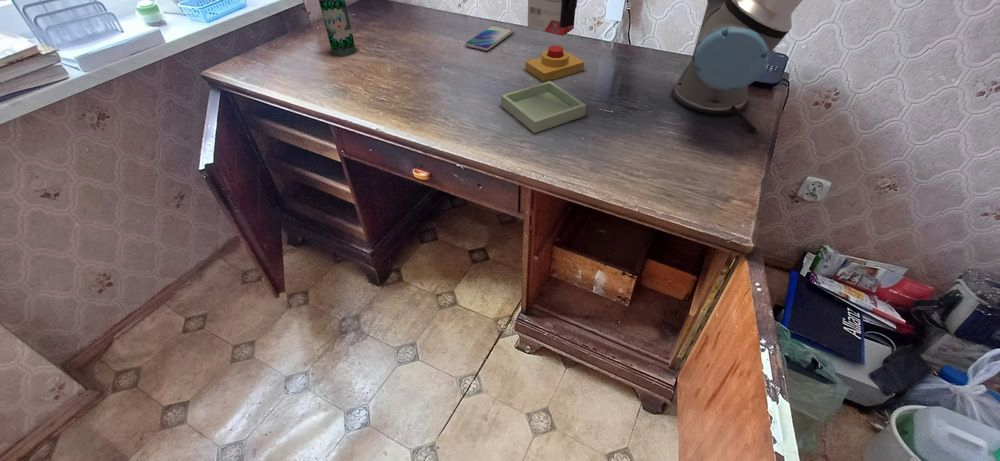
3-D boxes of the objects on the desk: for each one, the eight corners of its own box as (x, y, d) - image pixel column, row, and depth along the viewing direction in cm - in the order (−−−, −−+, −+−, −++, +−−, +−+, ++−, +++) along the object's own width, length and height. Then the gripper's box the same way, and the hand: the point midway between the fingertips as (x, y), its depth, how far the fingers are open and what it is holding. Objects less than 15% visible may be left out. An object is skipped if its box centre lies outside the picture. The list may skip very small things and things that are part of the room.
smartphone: (513, 30, 133) (487, 48, 123) (513, 33, 133) (487, 52, 124) (491, 25, 135) (464, 43, 126) (491, 28, 136) (464, 46, 126)
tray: (585, 116, 100) (586, 104, 98) (534, 133, 95) (534, 121, 93) (549, 91, 108) (550, 80, 106) (501, 106, 103) (500, 95, 101)
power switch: (583, 70, 115) (585, 54, 113) (543, 82, 111) (544, 66, 108) (563, 59, 120) (565, 43, 118) (525, 69, 116) (525, 53, 113)
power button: (565, 56, 113) (566, 49, 111) (553, 60, 111) (554, 52, 110) (556, 51, 115) (557, 44, 114) (544, 54, 114) (545, 47, 112)
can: (333, 57, 122) (317, -5, 112) (331, 48, 126) (316, -12, 116) (356, 53, 123) (343, -7, 113) (354, 45, 128) (341, -15, 117)
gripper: (622, -116, 72) (601, 32, 87) (542, -131, 86) (536, -2, 101) (583, -112, 69) (569, 40, 85) (507, -128, 83) (507, 4, 99)
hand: (551, 17), depth 93 cm, fingers closed on ink box, 9 cm apart
